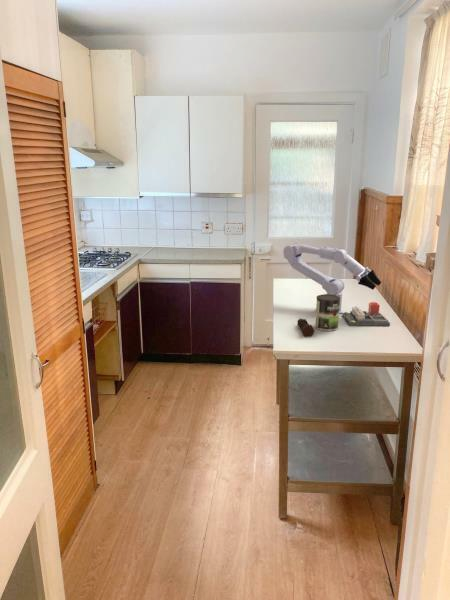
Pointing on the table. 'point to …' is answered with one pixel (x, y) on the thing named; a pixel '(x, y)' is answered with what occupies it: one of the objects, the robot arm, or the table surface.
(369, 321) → the grey tray
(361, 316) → the toggle tagged
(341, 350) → the table surface
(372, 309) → the cap
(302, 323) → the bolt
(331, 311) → the coffee can
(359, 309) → the toggle
